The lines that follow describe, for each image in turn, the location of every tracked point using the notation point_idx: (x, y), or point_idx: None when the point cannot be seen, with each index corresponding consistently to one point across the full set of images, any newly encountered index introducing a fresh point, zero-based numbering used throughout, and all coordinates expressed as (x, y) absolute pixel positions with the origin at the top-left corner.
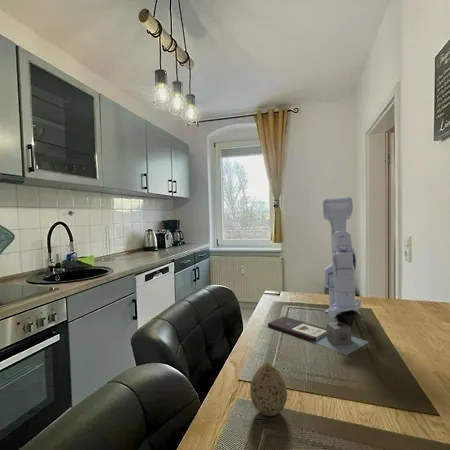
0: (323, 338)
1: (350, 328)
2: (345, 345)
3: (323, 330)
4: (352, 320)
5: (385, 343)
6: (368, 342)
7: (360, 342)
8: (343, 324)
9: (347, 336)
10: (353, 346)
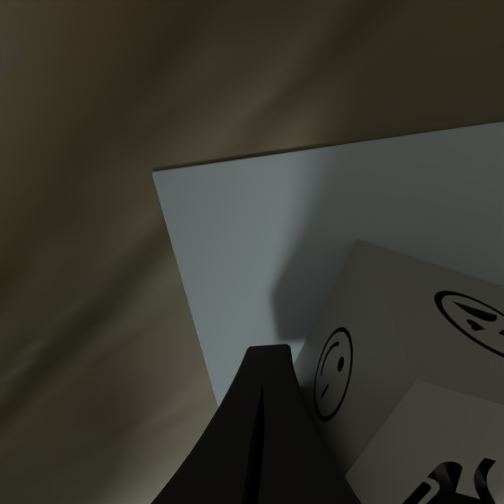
0: None
1: (425, 368)
2: (431, 253)
3: None
4: (210, 495)
5: (3, 43)
6: (167, 170)
7: (244, 214)
8: (386, 485)
9: (429, 304)
10: (389, 196)
